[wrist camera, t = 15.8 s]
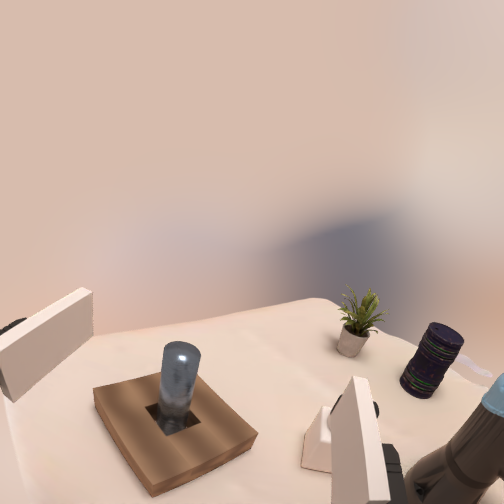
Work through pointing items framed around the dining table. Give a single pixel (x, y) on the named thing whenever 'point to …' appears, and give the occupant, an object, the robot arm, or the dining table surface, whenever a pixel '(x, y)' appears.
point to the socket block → (178, 444)
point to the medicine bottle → (321, 440)
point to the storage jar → (431, 360)
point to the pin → (176, 386)
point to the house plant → (357, 326)
